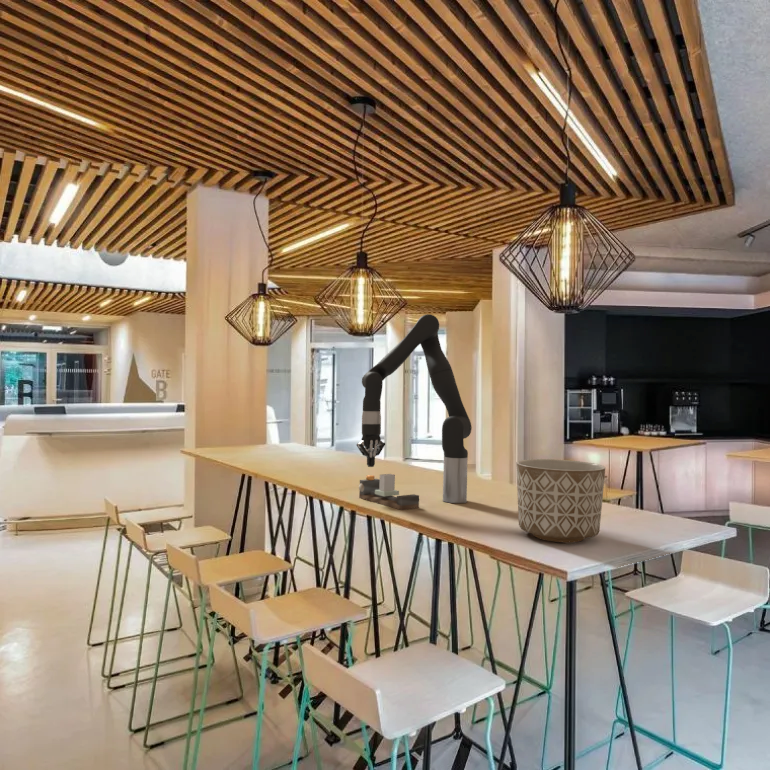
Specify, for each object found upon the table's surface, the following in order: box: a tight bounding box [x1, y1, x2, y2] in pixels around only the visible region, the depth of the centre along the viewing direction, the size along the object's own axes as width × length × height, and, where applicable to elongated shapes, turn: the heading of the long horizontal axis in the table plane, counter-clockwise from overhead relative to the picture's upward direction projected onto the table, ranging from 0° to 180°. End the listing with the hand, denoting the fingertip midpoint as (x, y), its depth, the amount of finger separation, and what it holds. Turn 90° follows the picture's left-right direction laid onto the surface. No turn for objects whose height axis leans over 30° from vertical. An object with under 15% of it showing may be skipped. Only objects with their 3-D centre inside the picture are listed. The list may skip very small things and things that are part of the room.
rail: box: [358, 478, 420, 511], centre depth 236 cm, size 27×8×7 cm, turn 37°
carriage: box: [375, 473, 400, 496], centre depth 237 cm, size 6×7×8 cm
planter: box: [516, 458, 606, 543], centre depth 190 cm, size 26×26×22 cm
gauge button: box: [365, 474, 375, 480], centre depth 246 cm, size 3×3×2 cm
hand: (370, 466), depth 245 cm, fingers closed
